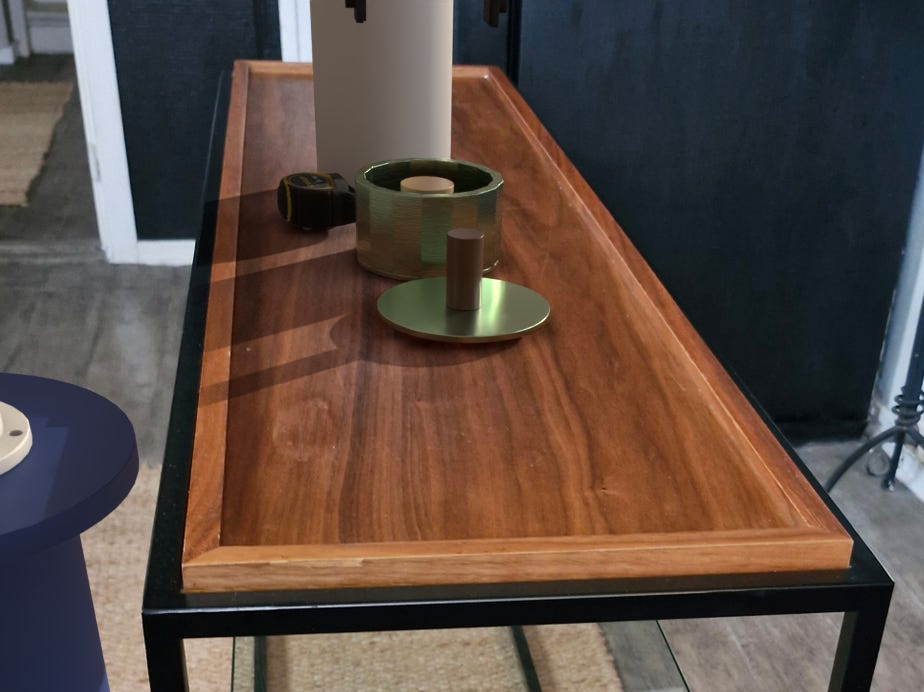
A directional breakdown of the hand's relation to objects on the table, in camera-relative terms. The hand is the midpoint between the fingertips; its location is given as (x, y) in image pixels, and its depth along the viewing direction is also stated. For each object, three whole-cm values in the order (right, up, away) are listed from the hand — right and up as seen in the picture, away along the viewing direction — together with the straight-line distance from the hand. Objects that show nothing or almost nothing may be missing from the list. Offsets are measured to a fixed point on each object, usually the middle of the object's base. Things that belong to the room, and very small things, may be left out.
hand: (425, 22), depth 89 cm
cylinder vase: (-5, -1, +27) cm, 27 cm away
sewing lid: (+3, -21, 0) cm, 21 cm away
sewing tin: (0, -13, +11) cm, 17 cm away
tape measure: (-10, -8, +18) cm, 21 cm away
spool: (0, -13, +10) cm, 17 cm away
